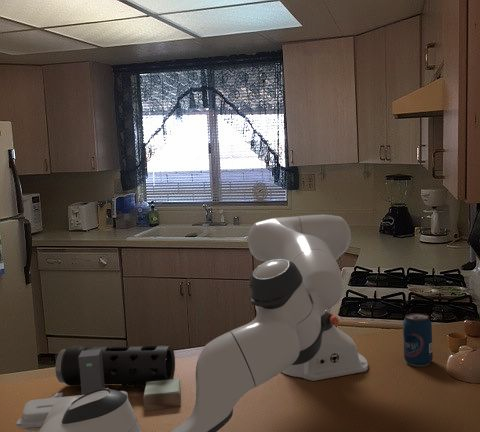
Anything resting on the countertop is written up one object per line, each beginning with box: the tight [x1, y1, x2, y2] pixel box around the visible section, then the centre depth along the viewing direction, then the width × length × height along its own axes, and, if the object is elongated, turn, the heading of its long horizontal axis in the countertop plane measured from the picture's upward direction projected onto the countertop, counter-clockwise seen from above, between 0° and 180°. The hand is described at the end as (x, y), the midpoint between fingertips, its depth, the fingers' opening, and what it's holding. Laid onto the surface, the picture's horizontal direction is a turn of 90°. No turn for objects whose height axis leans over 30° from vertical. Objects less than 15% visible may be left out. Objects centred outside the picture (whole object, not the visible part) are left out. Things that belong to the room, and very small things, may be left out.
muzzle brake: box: [54, 345, 176, 388], centre depth 144 cm, size 10×28×10 cm, turn 82°
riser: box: [143, 378, 182, 411], centre depth 133 cm, size 8×8×4 cm
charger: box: [78, 349, 106, 395], centre depth 134 cm, size 4×5×12 cm
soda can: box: [402, 312, 434, 367], centre depth 146 cm, size 7×7×12 cm
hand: (82, 393), depth 123 cm, fingers open, 8 cm apart
